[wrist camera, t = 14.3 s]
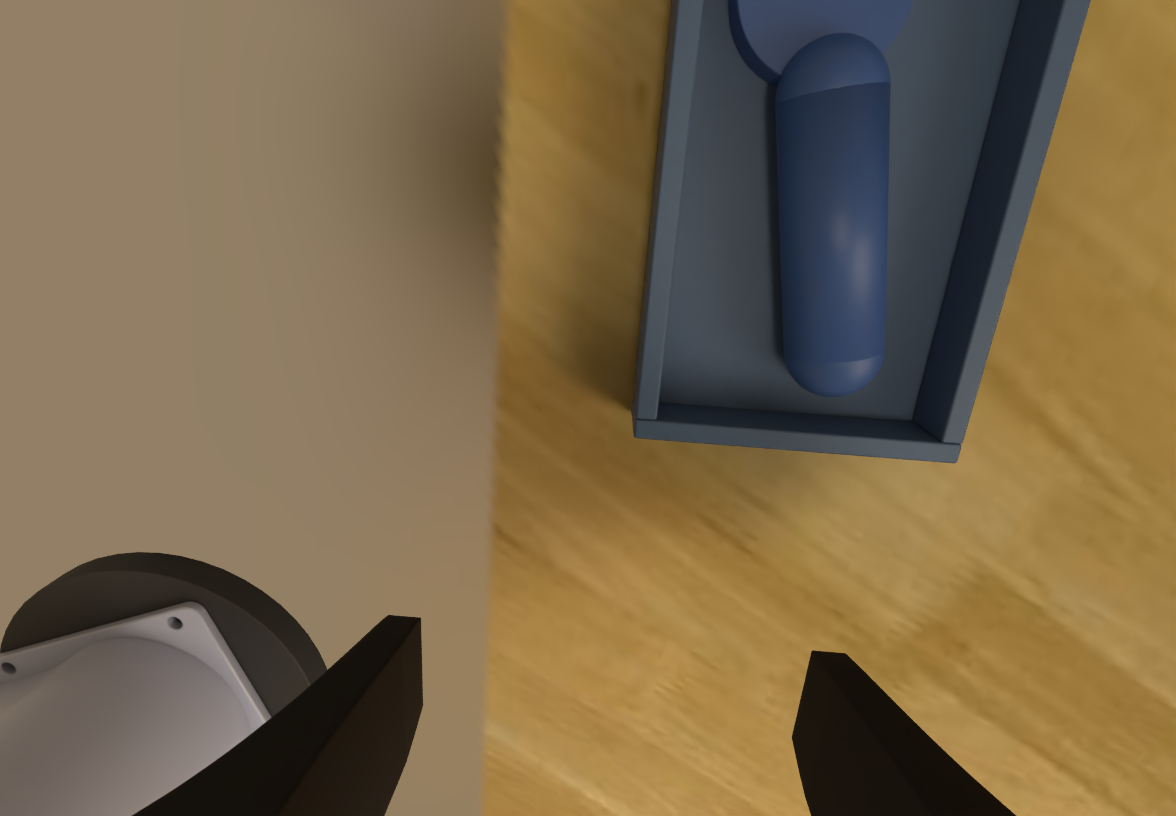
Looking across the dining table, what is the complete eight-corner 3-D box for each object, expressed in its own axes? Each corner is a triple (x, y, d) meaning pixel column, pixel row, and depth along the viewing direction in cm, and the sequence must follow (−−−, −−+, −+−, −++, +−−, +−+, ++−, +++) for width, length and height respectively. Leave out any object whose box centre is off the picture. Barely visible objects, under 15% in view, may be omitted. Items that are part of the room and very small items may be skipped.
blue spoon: (889, 373, 18) (933, 399, 16) (748, 390, 18) (769, 418, 16) (900, -117, 14) (960, -184, 12) (723, -85, 15) (745, -144, 12)
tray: (918, 435, 19) (957, 464, 17) (631, 412, 19) (633, 439, 17) (1073, -157, 14) (1156, -223, 12) (689, -182, 14) (702, -251, 12)
